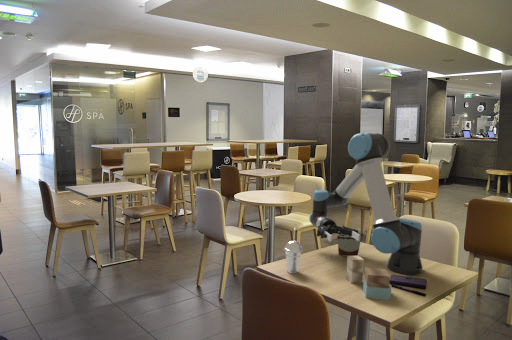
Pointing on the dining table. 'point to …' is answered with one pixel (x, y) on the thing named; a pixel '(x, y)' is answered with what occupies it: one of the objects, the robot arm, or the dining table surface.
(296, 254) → the cup with straw
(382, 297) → the teal block
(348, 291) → the dining table surface
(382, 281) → the walnut block
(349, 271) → the oak pillar
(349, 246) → the food container
